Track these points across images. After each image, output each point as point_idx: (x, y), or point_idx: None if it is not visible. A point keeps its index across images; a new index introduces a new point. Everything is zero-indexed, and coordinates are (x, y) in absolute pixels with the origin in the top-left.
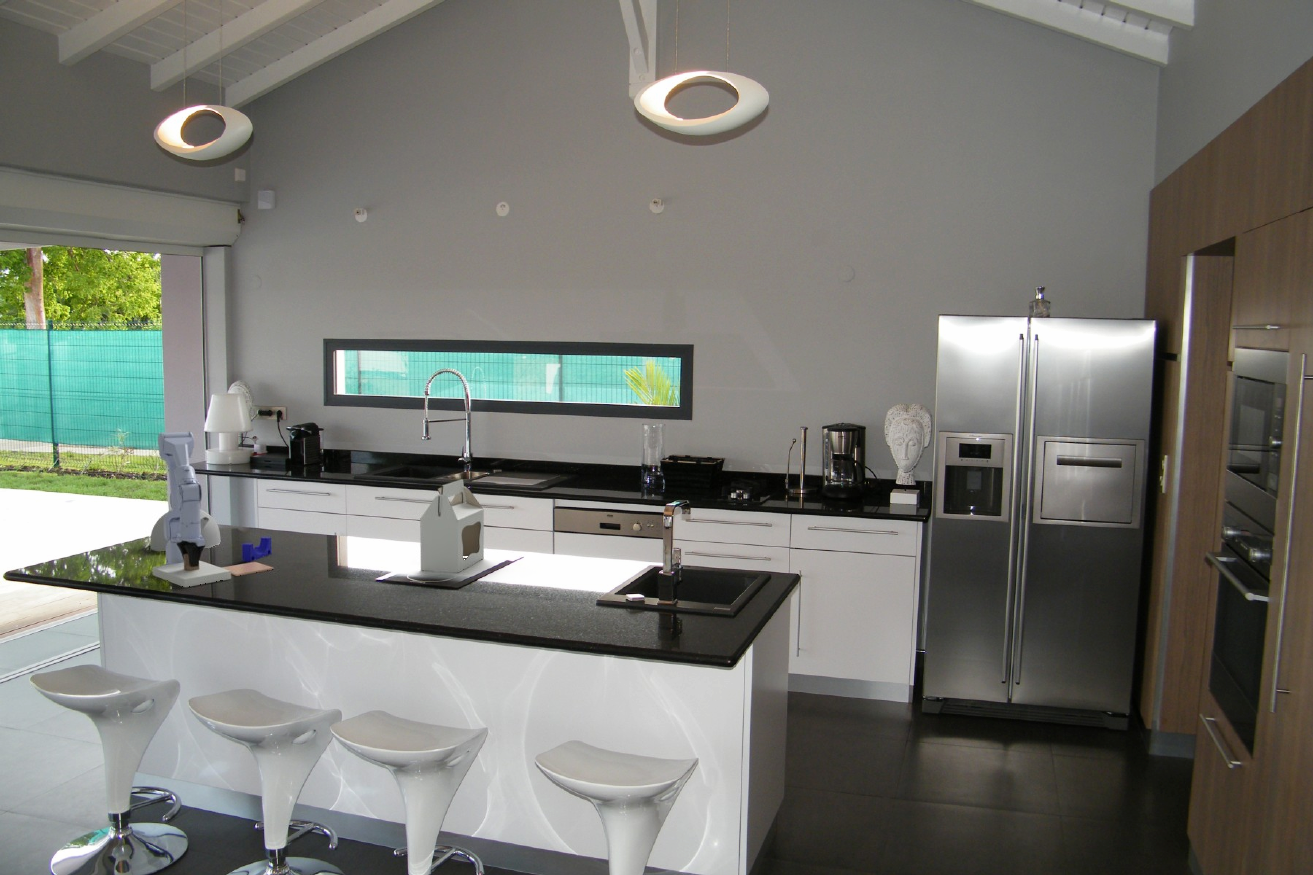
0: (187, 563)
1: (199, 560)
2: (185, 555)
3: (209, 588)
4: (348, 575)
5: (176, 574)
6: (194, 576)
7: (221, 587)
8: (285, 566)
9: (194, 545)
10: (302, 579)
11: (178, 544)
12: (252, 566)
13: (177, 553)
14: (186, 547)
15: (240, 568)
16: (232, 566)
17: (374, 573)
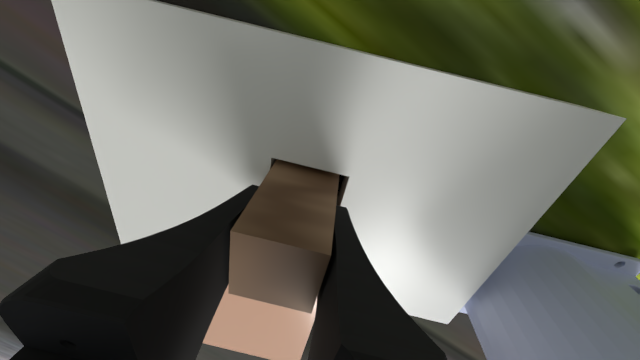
0: (275, 191)
1: (429, 319)
2: (294, 241)
3: (11, 58)
4: (12, 336)
5: (241, 51)
6: (98, 80)
7: (8, 105)
8: (200, 356)
9: (24, 344)
10: (16, 288)
11: (367, 354)
12: (246, 333)
13: (562, 326)
14: (84, 278)
15: (251, 311)
16: (301, 320)
17: (8, 355)
